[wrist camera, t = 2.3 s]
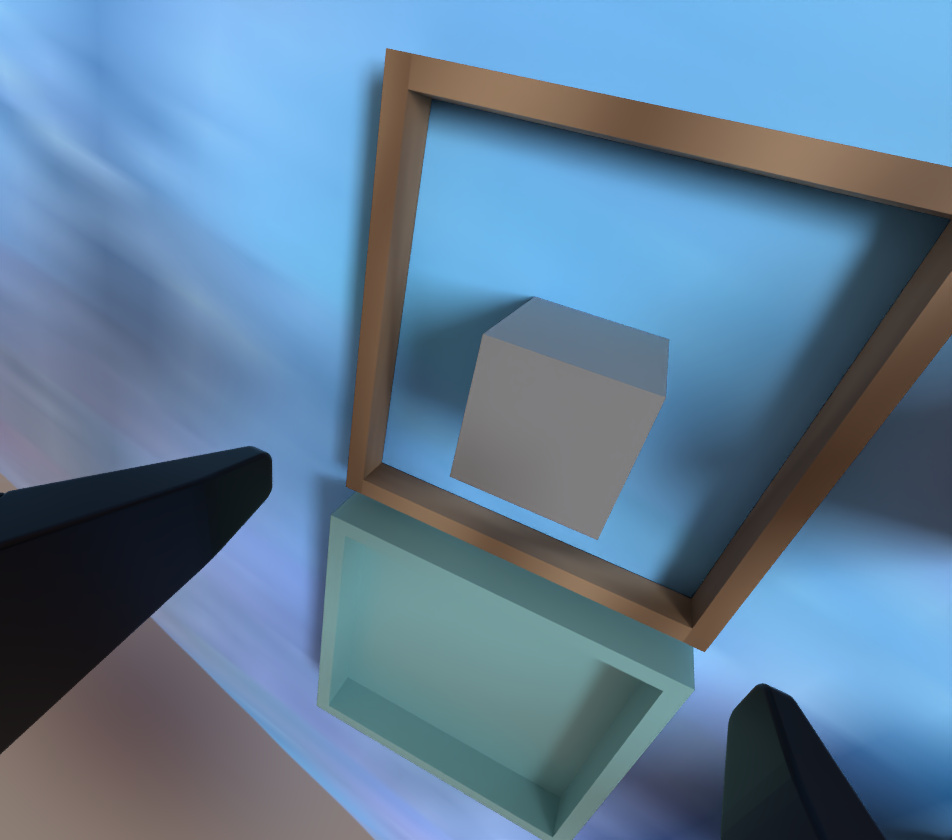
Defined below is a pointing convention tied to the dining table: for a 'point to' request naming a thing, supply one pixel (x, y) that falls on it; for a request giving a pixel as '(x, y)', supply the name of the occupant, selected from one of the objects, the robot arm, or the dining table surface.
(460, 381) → the dining table surface
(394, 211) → the corral
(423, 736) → the bin
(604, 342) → the slate block
